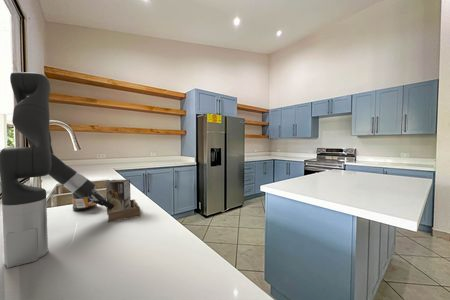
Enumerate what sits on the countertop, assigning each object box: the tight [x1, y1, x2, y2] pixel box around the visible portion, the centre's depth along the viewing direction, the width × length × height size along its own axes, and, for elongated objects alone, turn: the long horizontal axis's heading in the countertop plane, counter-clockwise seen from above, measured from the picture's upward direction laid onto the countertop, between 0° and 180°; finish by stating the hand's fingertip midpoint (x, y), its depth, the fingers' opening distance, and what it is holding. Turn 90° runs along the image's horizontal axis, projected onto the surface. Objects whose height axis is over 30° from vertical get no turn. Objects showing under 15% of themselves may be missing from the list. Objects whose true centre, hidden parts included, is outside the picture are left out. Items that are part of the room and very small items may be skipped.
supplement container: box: [71, 186, 98, 212], centre depth 102 cm, size 10×10×12 cm
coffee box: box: [105, 179, 132, 215], centre depth 96 cm, size 9×6×16 cm
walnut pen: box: [107, 199, 141, 223], centre depth 94 cm, size 17×13×4 cm
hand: (112, 207), depth 92 cm, fingers closed
